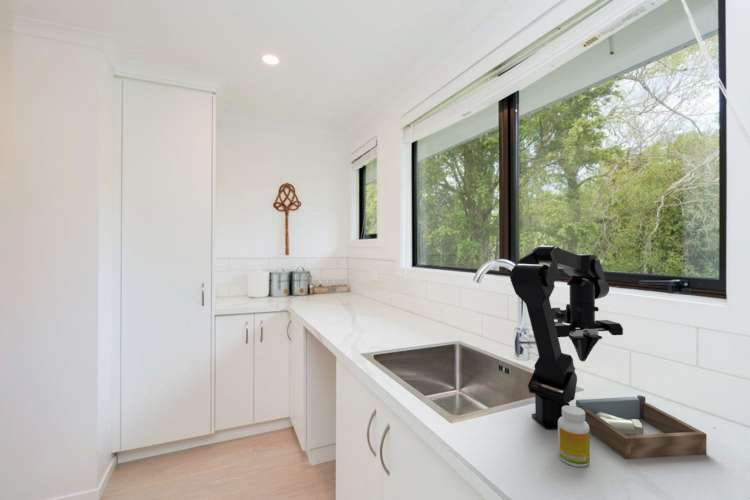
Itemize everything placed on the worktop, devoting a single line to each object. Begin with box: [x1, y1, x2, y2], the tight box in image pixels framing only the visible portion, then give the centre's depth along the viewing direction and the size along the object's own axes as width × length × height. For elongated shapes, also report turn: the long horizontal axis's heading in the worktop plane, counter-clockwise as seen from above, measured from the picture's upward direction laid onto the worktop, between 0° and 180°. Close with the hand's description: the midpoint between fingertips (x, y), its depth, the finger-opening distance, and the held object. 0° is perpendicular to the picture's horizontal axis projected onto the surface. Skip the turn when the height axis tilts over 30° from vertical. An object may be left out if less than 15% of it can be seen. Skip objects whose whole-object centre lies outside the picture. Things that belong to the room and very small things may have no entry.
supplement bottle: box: [557, 405, 591, 468], centre depth 68 cm, size 5×5×10 cm
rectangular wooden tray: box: [579, 394, 707, 460], centre depth 77 cm, size 17×16×5 cm
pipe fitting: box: [596, 412, 645, 436], centre depth 78 cm, size 8×4×7 cm
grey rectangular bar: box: [575, 396, 640, 420], centre depth 84 cm, size 15×2×4 cm, turn 95°
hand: (582, 360), depth 93 cm, fingers closed
